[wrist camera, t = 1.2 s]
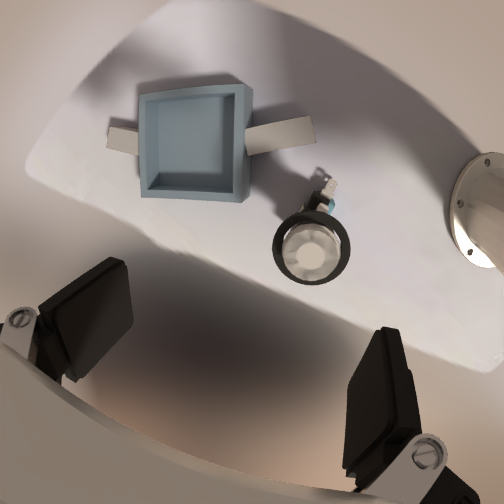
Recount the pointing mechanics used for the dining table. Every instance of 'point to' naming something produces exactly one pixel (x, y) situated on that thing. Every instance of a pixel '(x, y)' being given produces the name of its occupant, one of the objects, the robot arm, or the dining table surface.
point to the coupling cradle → (202, 142)
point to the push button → (312, 242)
